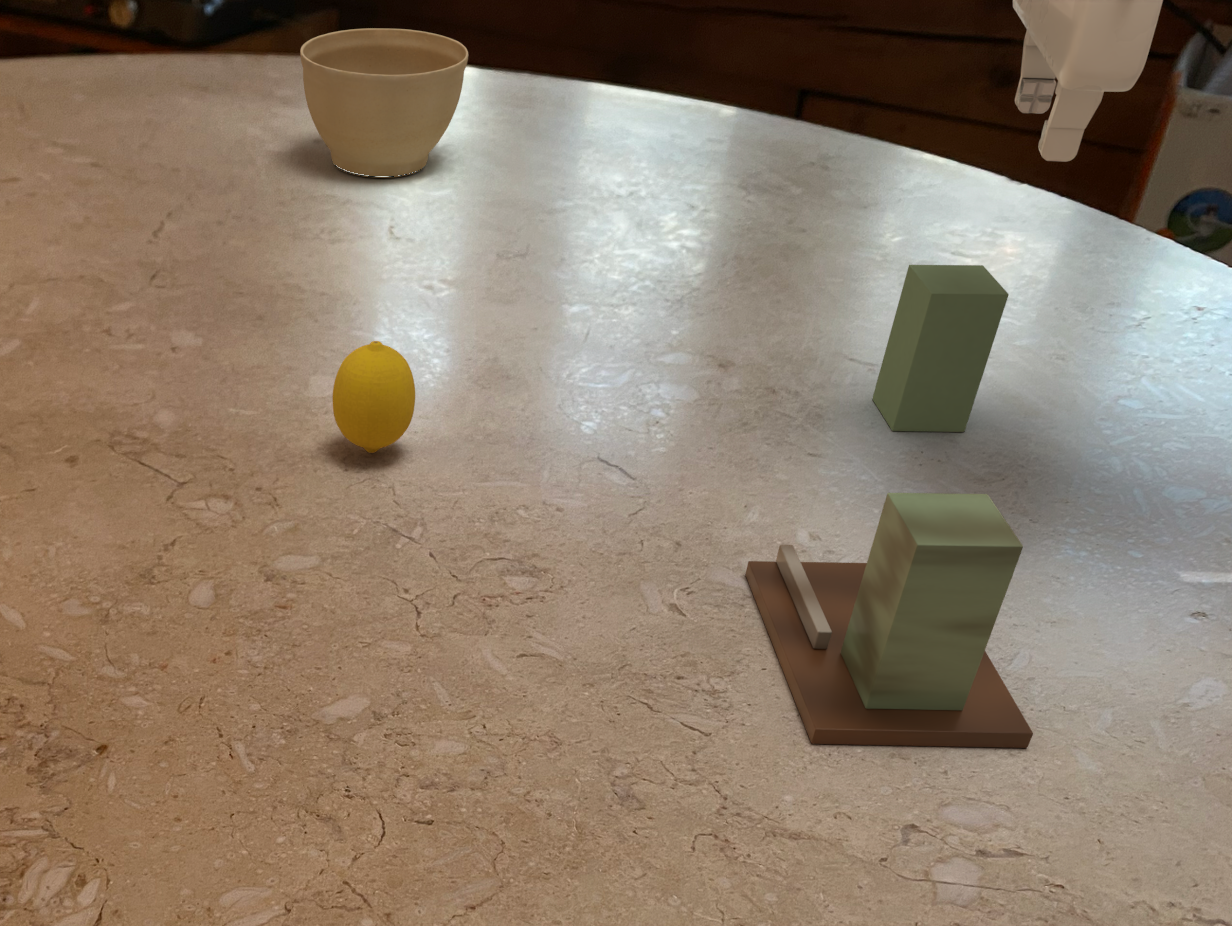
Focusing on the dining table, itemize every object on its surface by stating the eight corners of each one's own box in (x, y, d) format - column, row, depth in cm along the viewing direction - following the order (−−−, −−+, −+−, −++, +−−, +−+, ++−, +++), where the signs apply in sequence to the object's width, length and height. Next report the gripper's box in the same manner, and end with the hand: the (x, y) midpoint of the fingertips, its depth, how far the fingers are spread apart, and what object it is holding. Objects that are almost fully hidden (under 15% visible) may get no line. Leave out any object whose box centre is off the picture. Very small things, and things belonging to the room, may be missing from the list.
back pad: (871, 398, 106) (908, 264, 100) (941, 399, 106) (983, 265, 99) (892, 431, 102) (931, 293, 96) (964, 432, 102) (1009, 294, 95)
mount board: (744, 574, 88) (783, 407, 81) (930, 577, 87) (985, 410, 80) (811, 744, 75) (864, 563, 68) (1027, 748, 75) (1102, 567, 68)
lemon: (391, 427, 103) (396, 319, 98) (425, 463, 99) (433, 352, 94) (318, 441, 101) (320, 332, 96) (350, 478, 97) (354, 366, 92)
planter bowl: (279, 183, 143) (279, 65, 136) (324, 133, 155) (326, 23, 148) (441, 199, 139) (449, 78, 132) (473, 147, 151) (482, 34, 144)
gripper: (1236, -109, 68) (1137, 193, 76) (1146, -167, 83) (1071, 88, 92) (1089, -110, 69) (1007, 187, 78) (1026, -167, 85) (964, 85, 93)
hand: (1041, 133), depth 85 cm, fingers open, 8 cm apart
